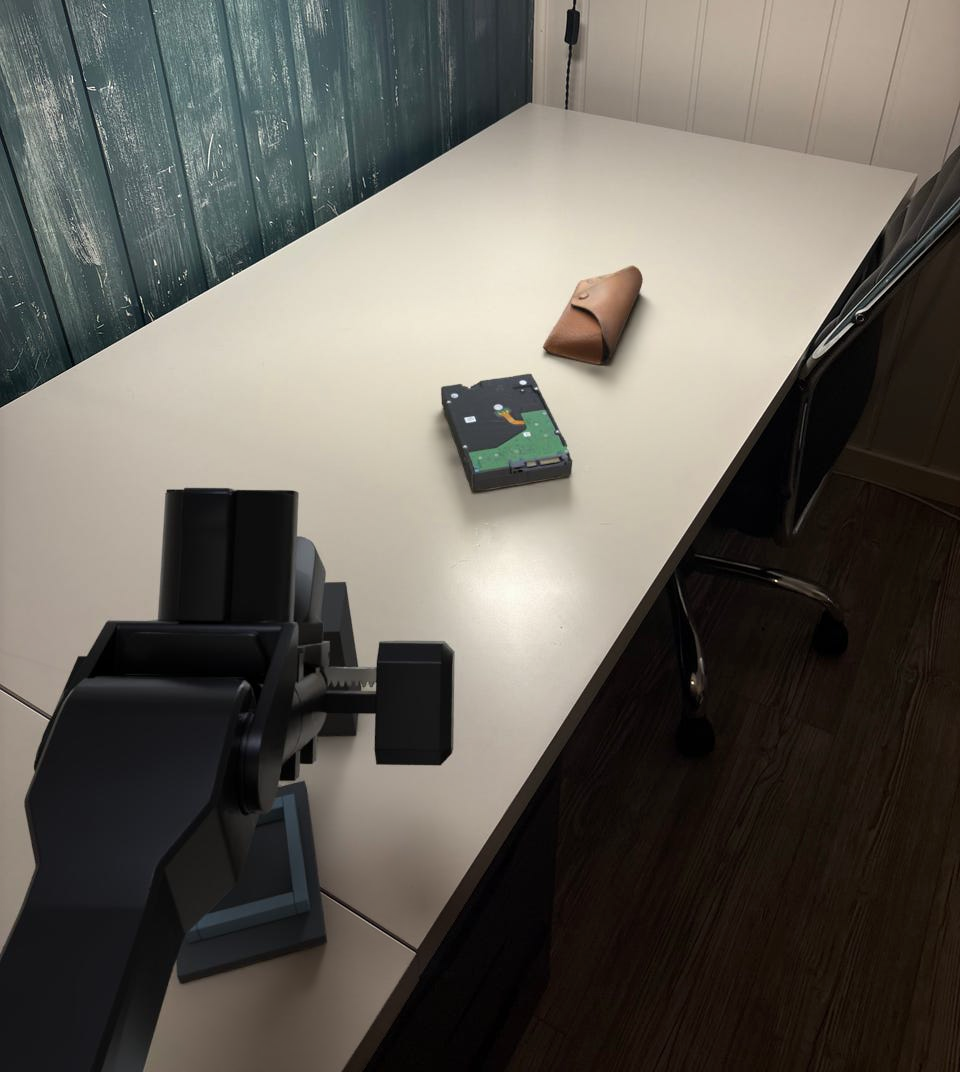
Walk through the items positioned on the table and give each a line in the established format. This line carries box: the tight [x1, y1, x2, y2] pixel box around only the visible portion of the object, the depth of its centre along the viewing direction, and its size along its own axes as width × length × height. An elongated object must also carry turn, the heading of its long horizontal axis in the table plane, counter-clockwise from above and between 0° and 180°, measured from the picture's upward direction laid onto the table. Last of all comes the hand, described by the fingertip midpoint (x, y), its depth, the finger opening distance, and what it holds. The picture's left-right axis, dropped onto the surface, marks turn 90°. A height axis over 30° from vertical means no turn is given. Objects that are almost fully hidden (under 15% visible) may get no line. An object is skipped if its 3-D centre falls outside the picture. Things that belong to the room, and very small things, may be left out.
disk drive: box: [440, 373, 573, 492], centre depth 97 cm, size 10×3×15 cm
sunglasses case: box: [542, 265, 644, 366], centre depth 115 cm, size 18×7×7 cm
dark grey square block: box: [317, 581, 362, 737], centre depth 69 cm, size 4×4×12 cm
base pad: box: [176, 780, 328, 984], centre depth 62 cm, size 11×9×2 cm
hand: (309, 682), depth 59 cm, fingers open, 9 cm apart
